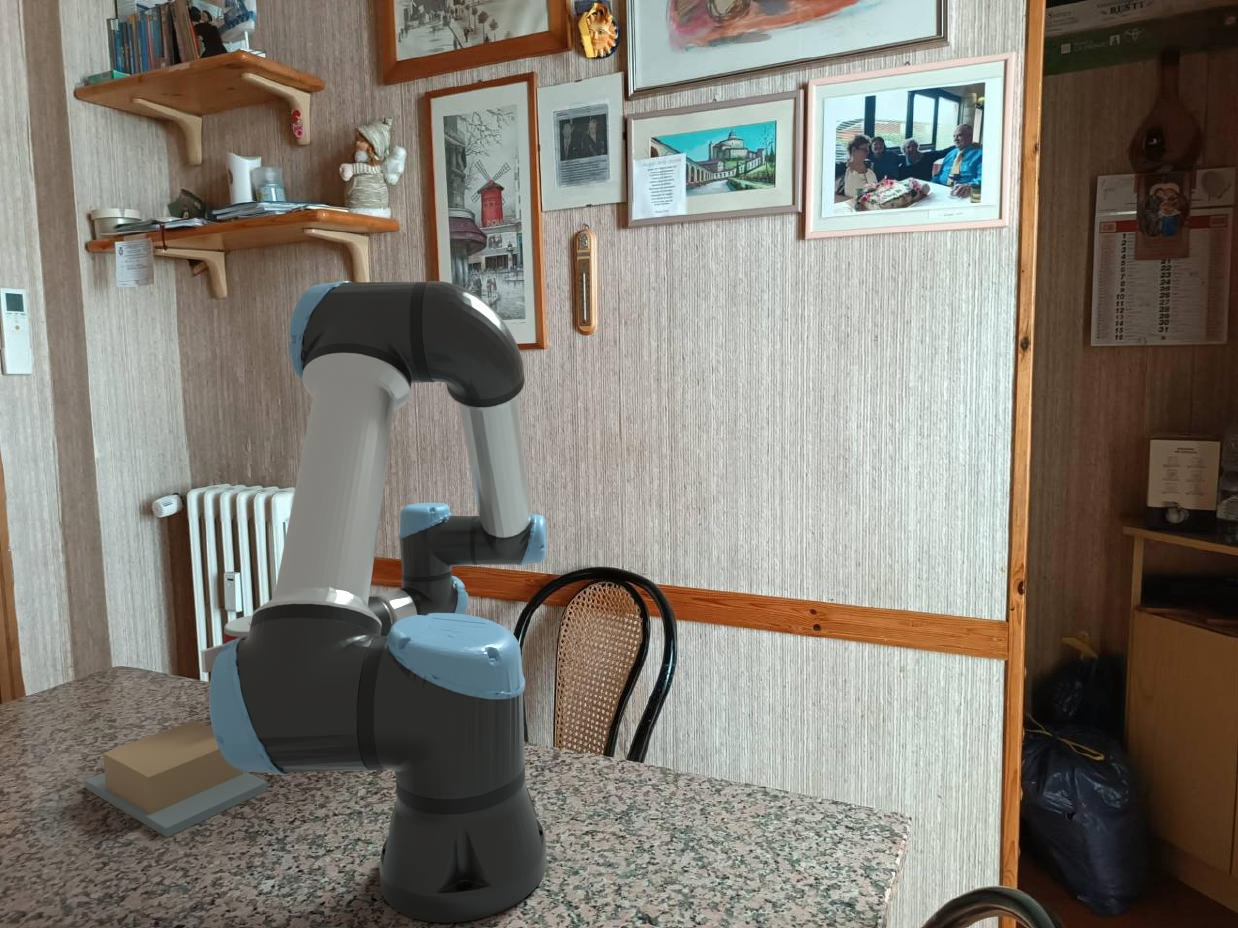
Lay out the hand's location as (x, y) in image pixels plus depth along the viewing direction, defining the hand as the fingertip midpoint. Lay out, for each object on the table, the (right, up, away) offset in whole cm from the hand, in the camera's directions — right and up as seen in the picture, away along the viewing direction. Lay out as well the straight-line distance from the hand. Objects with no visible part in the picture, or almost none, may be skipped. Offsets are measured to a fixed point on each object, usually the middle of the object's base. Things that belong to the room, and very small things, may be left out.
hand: (222, 667), depth 95 cm
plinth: (-2, -12, -6) cm, 14 cm away
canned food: (+3, -6, +5) cm, 8 cm away
